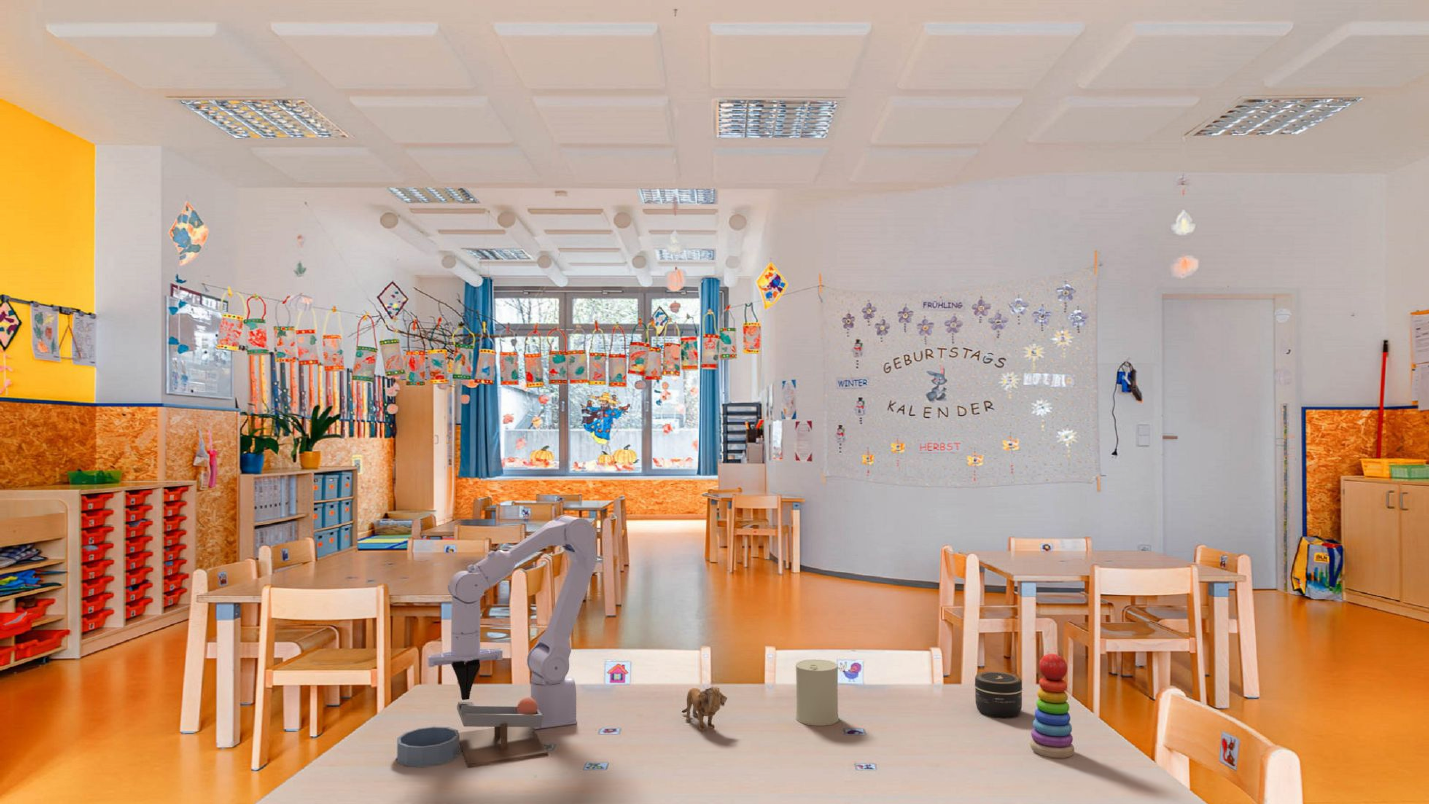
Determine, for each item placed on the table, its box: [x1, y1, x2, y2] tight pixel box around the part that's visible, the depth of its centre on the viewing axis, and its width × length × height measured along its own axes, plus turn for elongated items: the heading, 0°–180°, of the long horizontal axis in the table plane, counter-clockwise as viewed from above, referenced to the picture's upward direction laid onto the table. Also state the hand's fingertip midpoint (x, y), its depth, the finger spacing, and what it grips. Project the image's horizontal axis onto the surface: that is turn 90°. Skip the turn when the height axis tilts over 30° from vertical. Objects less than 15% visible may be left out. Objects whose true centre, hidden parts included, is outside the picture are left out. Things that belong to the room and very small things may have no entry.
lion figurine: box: [681, 686, 728, 731], centre depth 185 cm, size 15×5×9 cm, turn 35°
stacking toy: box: [1029, 653, 1075, 759], centre depth 168 cm, size 8×8×19 cm
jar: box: [974, 671, 1023, 719], centre depth 192 cm, size 10×10×8 cm
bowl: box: [396, 726, 460, 768], centre depth 167 cm, size 11×11×4 cm
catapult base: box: [458, 723, 549, 768], centre depth 172 cm, size 15×18×5 cm
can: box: [795, 659, 840, 727], centre depth 188 cm, size 9×9×12 cm
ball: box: [516, 697, 538, 714], centre depth 175 cm, size 4×4×4 cm
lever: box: [456, 701, 543, 728], centre depth 175 cm, size 15×12×2 cm
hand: (465, 698), depth 177 cm, fingers closed
